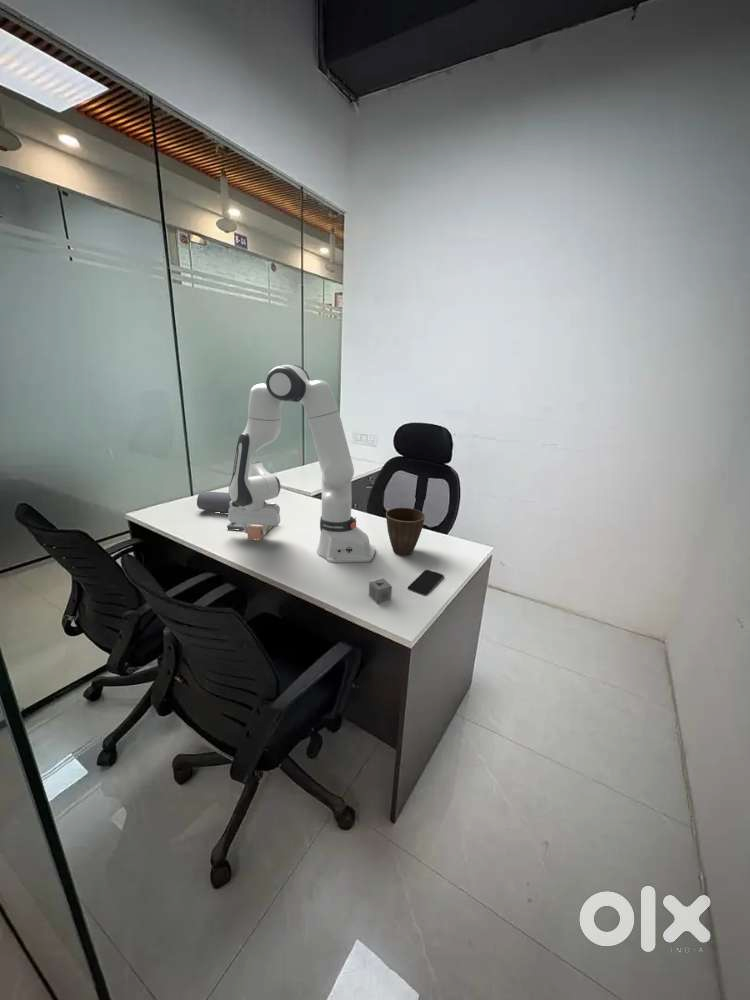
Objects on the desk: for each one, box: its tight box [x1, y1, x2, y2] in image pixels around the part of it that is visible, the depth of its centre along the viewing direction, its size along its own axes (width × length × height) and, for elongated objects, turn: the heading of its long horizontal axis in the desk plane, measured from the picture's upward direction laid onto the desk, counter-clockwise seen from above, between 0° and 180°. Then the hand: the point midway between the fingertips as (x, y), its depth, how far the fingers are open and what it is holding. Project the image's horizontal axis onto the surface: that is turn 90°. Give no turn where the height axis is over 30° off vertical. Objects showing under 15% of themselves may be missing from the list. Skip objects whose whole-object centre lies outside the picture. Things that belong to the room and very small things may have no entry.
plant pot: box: [385, 507, 426, 557], centre depth 142 cm, size 15×15×16 cm
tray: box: [226, 522, 251, 530], centre depth 159 cm, size 9×9×2 cm
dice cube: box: [368, 577, 393, 605], centre depth 113 cm, size 5×5×5 cm
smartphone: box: [407, 569, 445, 597], centre depth 123 cm, size 7×1×15 cm
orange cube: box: [246, 524, 265, 541], centre depth 148 cm, size 5×4×5 cm
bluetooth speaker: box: [196, 491, 231, 513], centre depth 172 cm, size 23×9×10 cm, turn 84°
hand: (255, 533), depth 148 cm, fingers closed on orange cube, 5 cm apart
